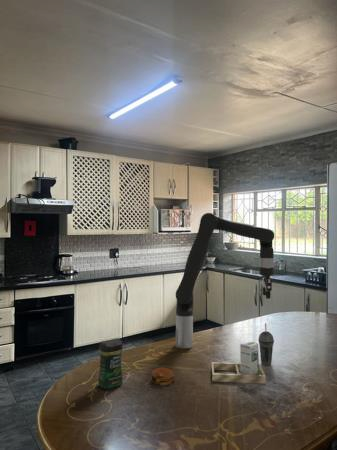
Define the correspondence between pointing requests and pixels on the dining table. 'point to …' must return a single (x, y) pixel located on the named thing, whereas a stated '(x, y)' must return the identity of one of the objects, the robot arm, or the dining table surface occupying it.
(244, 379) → the wooden frame
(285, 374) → the dining table surface
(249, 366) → the syrup box
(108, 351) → the coffee jar
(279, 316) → the dining table surface
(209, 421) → the dining table surface
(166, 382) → the burger
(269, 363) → the beverage cup
